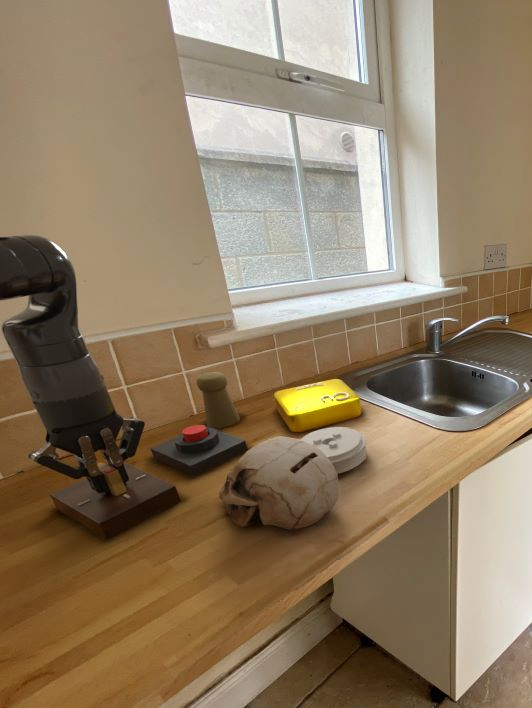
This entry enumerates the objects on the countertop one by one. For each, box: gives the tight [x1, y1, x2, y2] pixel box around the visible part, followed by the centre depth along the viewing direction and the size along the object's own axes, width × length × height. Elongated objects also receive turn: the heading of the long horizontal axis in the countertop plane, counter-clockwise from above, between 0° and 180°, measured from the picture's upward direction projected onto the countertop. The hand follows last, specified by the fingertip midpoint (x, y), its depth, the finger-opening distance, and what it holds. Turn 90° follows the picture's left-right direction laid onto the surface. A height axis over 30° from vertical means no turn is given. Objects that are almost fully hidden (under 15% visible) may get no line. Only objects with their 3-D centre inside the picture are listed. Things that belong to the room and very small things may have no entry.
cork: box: [196, 371, 241, 429], centre depth 94 cm, size 6×6×11 cm
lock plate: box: [49, 462, 181, 540], centre depth 71 cm, size 14×10×3 cm
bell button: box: [181, 424, 208, 442], centre depth 83 cm, size 4×4×2 cm
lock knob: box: [97, 461, 127, 496], centre depth 69 cm, size 5×1×4 cm, turn 65°
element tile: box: [273, 378, 362, 433], centre depth 101 cm, size 15×15×5 cm
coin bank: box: [218, 435, 340, 531], centre depth 69 cm, size 16×17×13 cm
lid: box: [299, 426, 368, 475], centre depth 84 cm, size 13×13×5 cm
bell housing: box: [150, 425, 249, 477], centre depth 84 cm, size 12×10×4 cm
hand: (112, 488), depth 70 cm, fingers closed
